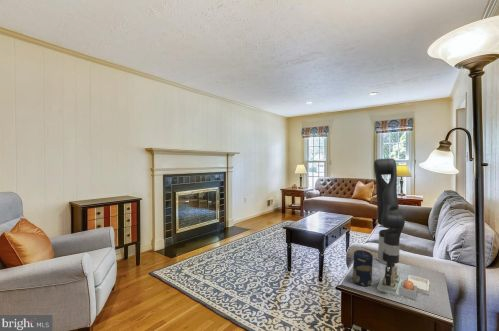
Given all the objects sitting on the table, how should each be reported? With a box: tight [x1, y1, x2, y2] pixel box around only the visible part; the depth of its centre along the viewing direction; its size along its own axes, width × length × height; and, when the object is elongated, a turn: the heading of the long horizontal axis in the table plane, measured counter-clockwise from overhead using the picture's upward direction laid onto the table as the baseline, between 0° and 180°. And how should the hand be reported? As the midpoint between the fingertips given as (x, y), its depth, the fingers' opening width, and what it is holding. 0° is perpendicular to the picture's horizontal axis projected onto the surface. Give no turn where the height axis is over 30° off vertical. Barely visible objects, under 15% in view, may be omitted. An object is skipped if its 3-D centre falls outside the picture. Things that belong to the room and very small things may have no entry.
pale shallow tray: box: [406, 274, 430, 297], centre depth 133 cm, size 14×10×2 cm
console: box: [399, 281, 418, 301], centre depth 125 cm, size 7×7×4 cm
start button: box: [403, 280, 414, 290], centre depth 125 cm, size 4×4×6 cm
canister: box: [352, 249, 373, 287], centre depth 136 cm, size 10×10×18 cm
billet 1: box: [384, 272, 395, 288], centre depth 129 cm, size 4×4×8 cm
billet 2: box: [394, 264, 398, 279], centre depth 138 cm, size 4×4×8 cm
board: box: [376, 273, 404, 297], centre depth 134 cm, size 19×10×3 cm, turn 142°
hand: (389, 281), depth 129 cm, fingers open, 8 cm apart
